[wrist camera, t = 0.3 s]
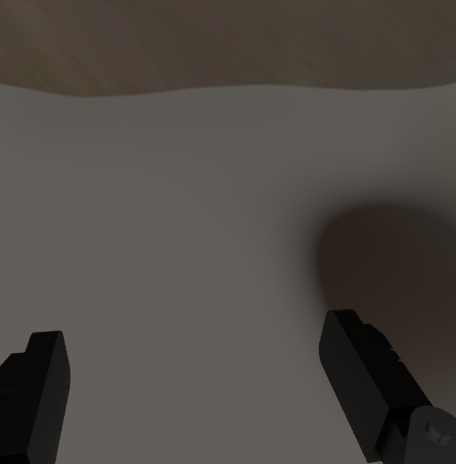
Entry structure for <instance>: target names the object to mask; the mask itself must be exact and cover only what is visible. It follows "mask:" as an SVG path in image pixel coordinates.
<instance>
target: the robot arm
mask: <svg viewBox="0 0 456 464" xmlns="http://www.w3.org/2000/svg"><path fill="white" fill-rule="evenodd" d="M319 356H320V361H321V364H322V366H323V368H324V370H325V372H326V375H327V377H328V379H329V381H330V383H331V385H332V387H333V390H334V392H335V394H336V396H337V398H338V400H339V403H340V405H341V407H342V409H343V411H344V413H345V415H346V418H347V420H348V422H349V424H350V426H351V428H352V430H353V433H354V435H355V437H356V439H357V441H358V443H359V445H360V447H361V450H362V452H363V454H364V456H365V458H366V460H367V463H371V462H378V461H382V462H383V464H456V417H454V416H453V415H452V414H450V413H448V412H447V411H445V410H443V409H441V408H438V407H434V406H433V405H432V404H431V403H430V401H429V400H428V398H427V397H426V395H425V394H424V392H423V391H422V390H421V388H420V387H419V385H418V384H417V382H416V381H415V379H414V378H413V377H412V375H411V374H410V372H409V371H408V369H407V368H406V366H405V365H404V363H403V362H401V359H400V358H399V356H398V355H397V353H396V352H395V351H393V347H392V346H391V345H390V343H389V342H388V340H387V339H386V337H385V336H384V335H383V334H382V333H381V332H380V331H378V330H377V329H376V328H374V327H373V326H372V325H371V324H363V323H362V321H361V320H360V318H359V317H358V315H357V313H356V312H355V311H354V310H353V309H342V310H330V311H328V312H327V314H326V317H325V321H324V326H323V330H322V334H321V339H320V343H319ZM69 389H70V366H69V361H68V356H67V351H66V346H65V341H64V337H63V333H62V331H48V332H35V333H32V335H31V337H30V339H29V342H28V345H27V348H26V351H25V352H24V353H12V354H11V355H10V356H9V357H8V358H7V359H6V360H5V361H4V363H3V364H2V365H1V366H0V464H55V461H56V456H57V451H58V445H59V440H60V435H61V430H62V425H63V420H64V415H65V410H66V405H67V399H68V394H69Z"/></svg>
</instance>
